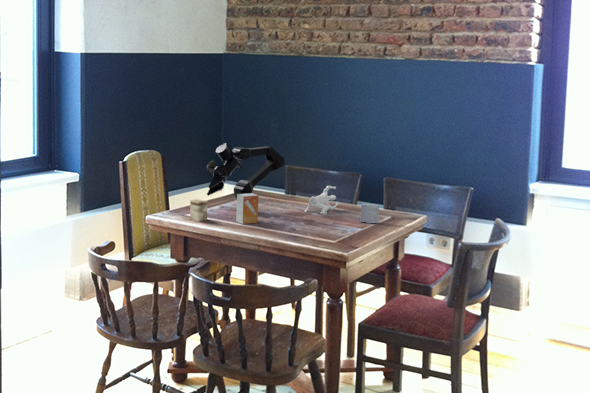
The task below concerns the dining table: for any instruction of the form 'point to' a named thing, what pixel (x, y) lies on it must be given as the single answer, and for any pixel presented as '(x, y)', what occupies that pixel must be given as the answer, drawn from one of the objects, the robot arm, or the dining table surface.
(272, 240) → the dining table surface
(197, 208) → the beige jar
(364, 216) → the medicine box
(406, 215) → the dining table surface
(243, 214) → the small box
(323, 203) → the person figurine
